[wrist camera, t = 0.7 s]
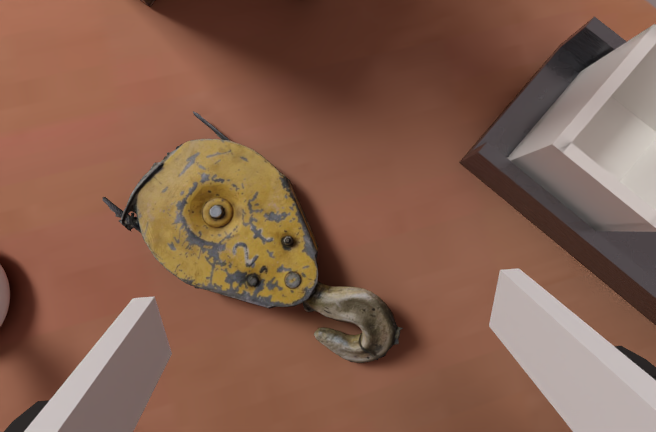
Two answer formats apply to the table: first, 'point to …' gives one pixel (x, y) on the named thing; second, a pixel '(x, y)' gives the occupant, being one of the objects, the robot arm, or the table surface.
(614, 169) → the crate
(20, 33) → the table surface
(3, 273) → the flower in vase
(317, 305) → the pulley block
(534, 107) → the bay
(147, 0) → the book
